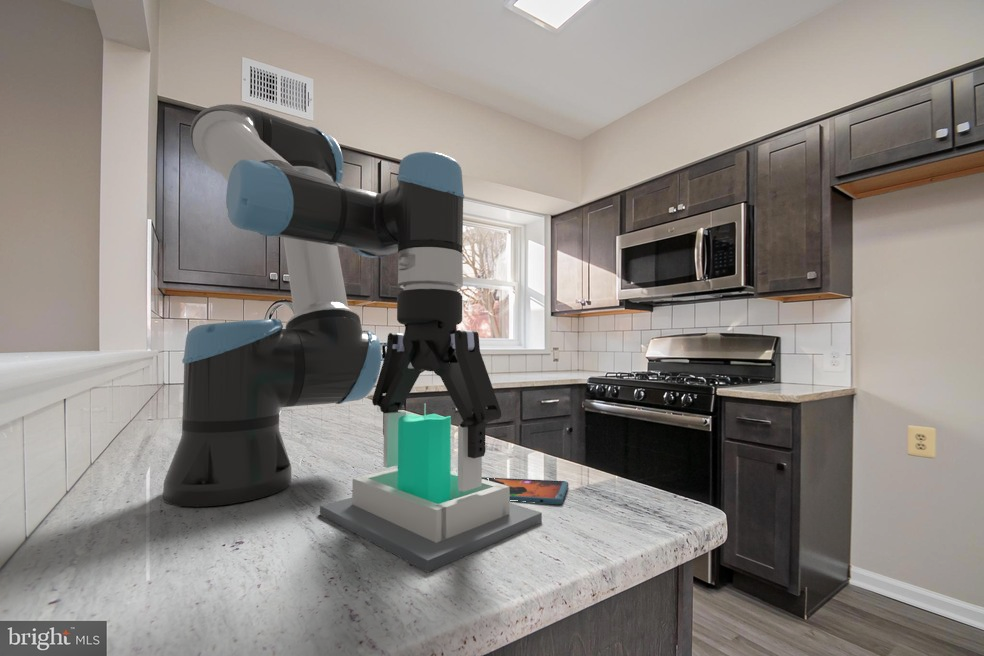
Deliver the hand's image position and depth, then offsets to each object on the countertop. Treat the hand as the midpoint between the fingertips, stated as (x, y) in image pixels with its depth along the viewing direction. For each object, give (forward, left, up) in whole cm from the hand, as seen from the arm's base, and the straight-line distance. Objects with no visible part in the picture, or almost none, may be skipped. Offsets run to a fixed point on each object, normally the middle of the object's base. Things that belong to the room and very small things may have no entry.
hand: (428, 476), depth 52 cm
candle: (0, -1, -4) cm, 4 cm away
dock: (0, 0, -5) cm, 5 cm away
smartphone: (0, +14, -5) cm, 15 cm away
